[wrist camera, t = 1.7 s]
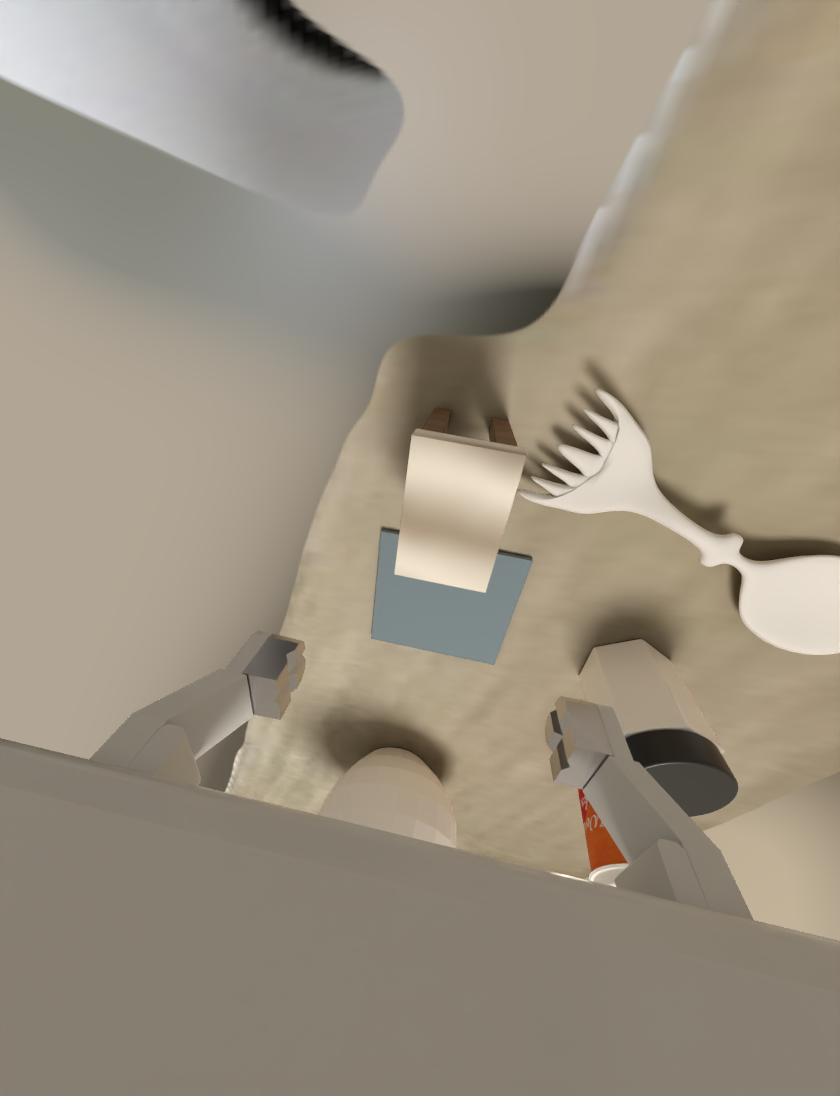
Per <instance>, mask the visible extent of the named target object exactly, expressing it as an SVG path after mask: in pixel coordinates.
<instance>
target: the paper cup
mask: <svg viewBox="0 0 840 1096" xmlns="http://www.w3.org/2000/svg"><path fill="white" fill-rule="evenodd" d="M578 792H579V798H580V805H581V811H582V817H583V823H584V829H585V835H586V842H587V848H588V854H589V860H590V866H591V873H590V875H589V880H590V881H593V882H597V883H601V884H606V885H610V886H614V887H616V885H615V881H614V879H615V878H616V877H617V875H618V874H620V873H621V872H622V871H623V870H624V869H625V868H626V867H627V866H629V864H628V862H627V861H626V859H625V858H624V856H623V854H622V853H621V851H620V850H619V848H618V847H617V845H616V843H615V842H614V840H613V839H612V837H611V836H610V834H609V832H608V831H607V829H606V828H605V826H604V824H603V823H602V821H601V820H600V818H599V817H598V815H597V813H596V812H595V810H594V809H593V807H592V806H591V804H590V802H589V801H588V799H587V798H586V796H585V795H584V793H583V790H582V789H578Z"/></svg>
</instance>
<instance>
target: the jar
mask: <svg viewBox="0 0 840 1096" xmlns="http://www.w3.org/2000/svg"><path fill="white" fill-rule="evenodd" d="M579 679H580V682H581V685H582V689H583V692H584V696H585V699H586V701H587V702H592V703H595V704H600V705H605V706H609V707H612V708H613V709H614V711H615V713H616V716H617V718H618V721H619V724H620V726H621V729H622V732H623V734H624V737H625V739H626V742H627V745H628V747H629V750H630V753H631V755H632V758H633V760H634V761H636V762H639V763H640V764H641V765H642V766H643V767H644V768H645V769H646V771H647V772H648V773H649V774H650V775H651V776H652V777H653V778H654V779H655V780H656V781H657V782H658V784H659V785H660V786H661V787H662V788H663V789H664V790H665V791H666V792H667V793H668V794H669V795H670V797H671V798H672V799H673V800H674V801H675V802H676V803H677V804H678V805H679V806H680V807H681V809H682V810H683V811H684V812H685V813H686V814H687V815H688V816H689V817H692V816H698V815H703V814H707V813H711V812H714V811H716V810H719V809H721V808H723V807H724V806H726V805H728V804H729V803H730V802H731V801H732V800H733V799H734V798H735V797H736V795H737V792H738V783H737V781H736V779H735V777H734V775H733V773H732V772H731V770H730V768H729V766H728V765H727V763H726V761H725V760H724V758H723V756H722V754H723V753H724V749H723V747H722V745H721V744H720V742H719V740H718V739H717V737H716V735H715V734H714V732H713V730H712V729H711V727H710V725H709V724H708V722H707V720H706V718H705V717H704V715H703V713H702V712H701V710H700V708H699V707H698V705H697V703H696V702H695V700H694V698H693V697H692V695H691V693H690V692H689V690H688V688H687V686H686V685H685V683H684V681H683V680H682V678H681V676H680V675H679V673H678V671H677V670H676V668H675V666H674V665H673V663H672V662H671V661H670V660H669V659H668V658H666V657H665V656H664V655H662V654H661V653H660V652H658V651H657V650H656V649H655V648H653V647H652V646H651V645H649V644H648V643H647V642H645V641H644V640H643V639H637V640H631V641H626V642H620V643H615V644H609V645H604V646H598V647H594V648H593V649H592V651H591V653H590V655H589V657H588V659H587V661H586V663H585V665H584V667H583V669H582V671H581V673H580V675H579Z"/></svg>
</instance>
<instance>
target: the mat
mask: <svg viewBox="0 0 840 1096" xmlns="http://www.w3.org/2000/svg"><path fill="white" fill-rule="evenodd" d="M398 540H399V532H397V531H391V530H386V529H382V531H381V539H380V550H379V561H378V572H377V582H376V593H375V604H374V615H373V625H372V636H371V639H375V640H380V641H385V642H389V643H394V644H399V645H403V646H408V647H413V648H417V649H422V650H427V651H431V652H436V653H441V654H445V655H450V656H455V657H460V658H464V659H469V660H474V661H478V662H483V663H488V664H492V665H494V664H495V661H496V658H497V656H498V653H499V650H500V648H501V645H502V642H503V640H504V637H505V634H506V631H507V629H508V626H509V623H510V621H511V618H512V615H513V613H514V610H515V607H516V604H517V602H518V599H519V596H520V594H521V591H522V588H523V586H524V583H525V580H526V577H527V575H528V572H529V569H530V567H531V564H532V558H529V557H524V556H519V555H514V554H509V553H504V552H499V551H498V553H497V556H496V560H495V563H494V566H493V570H492V573H491V576H490V579H489V583H488V586H487V589H486V593H483V592H478V591H474V590H469V589H464V588H459V587H454V586H449V585H444V584H439V583H434V582H429V581H424V580H419V579H414V578H409V577H405V576H400V575H395V574H394V572H395V564H396V556H397V548H398Z"/></svg>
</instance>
